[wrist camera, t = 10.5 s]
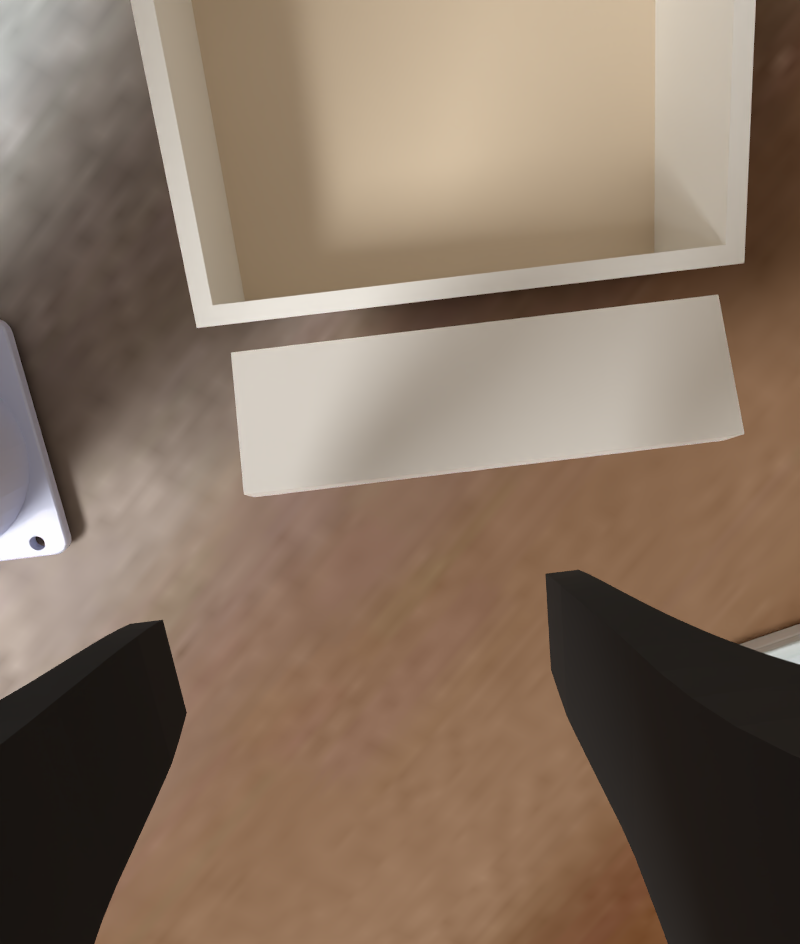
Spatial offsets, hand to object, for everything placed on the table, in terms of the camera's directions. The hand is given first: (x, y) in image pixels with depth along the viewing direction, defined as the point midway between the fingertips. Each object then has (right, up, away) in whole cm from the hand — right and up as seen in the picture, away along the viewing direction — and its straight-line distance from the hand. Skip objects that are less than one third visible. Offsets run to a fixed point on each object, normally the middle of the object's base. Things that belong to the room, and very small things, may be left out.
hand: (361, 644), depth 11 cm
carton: (+2, +15, +7) cm, 16 cm away
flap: (+3, +5, +4) cm, 7 cm away
